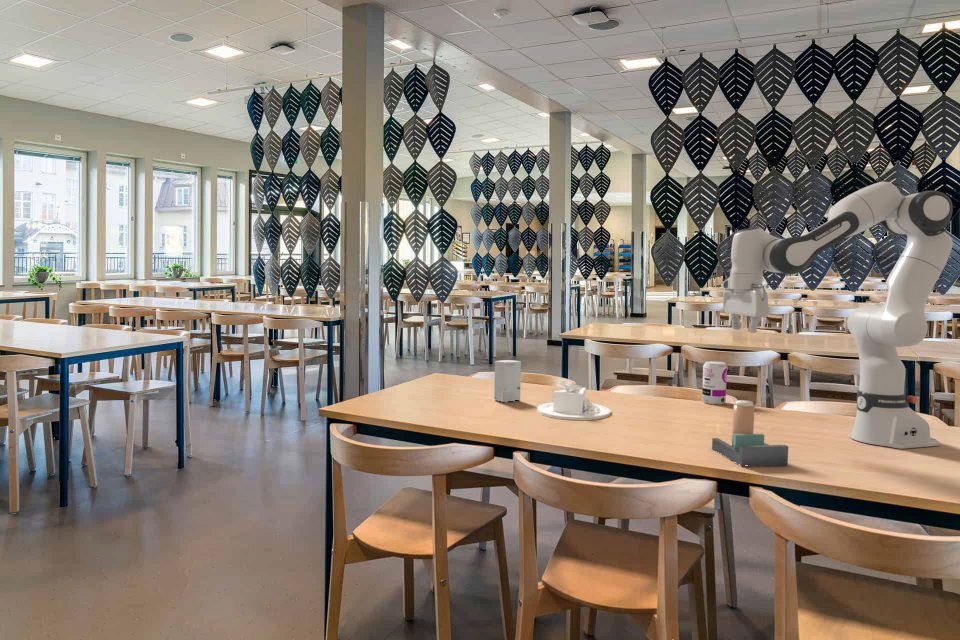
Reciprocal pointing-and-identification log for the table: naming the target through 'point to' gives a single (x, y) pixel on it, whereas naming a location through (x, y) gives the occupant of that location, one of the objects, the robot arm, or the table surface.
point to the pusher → (747, 440)
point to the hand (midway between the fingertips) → (744, 330)
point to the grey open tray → (753, 453)
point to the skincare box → (507, 380)
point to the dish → (572, 405)
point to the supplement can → (714, 382)
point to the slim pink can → (743, 417)
